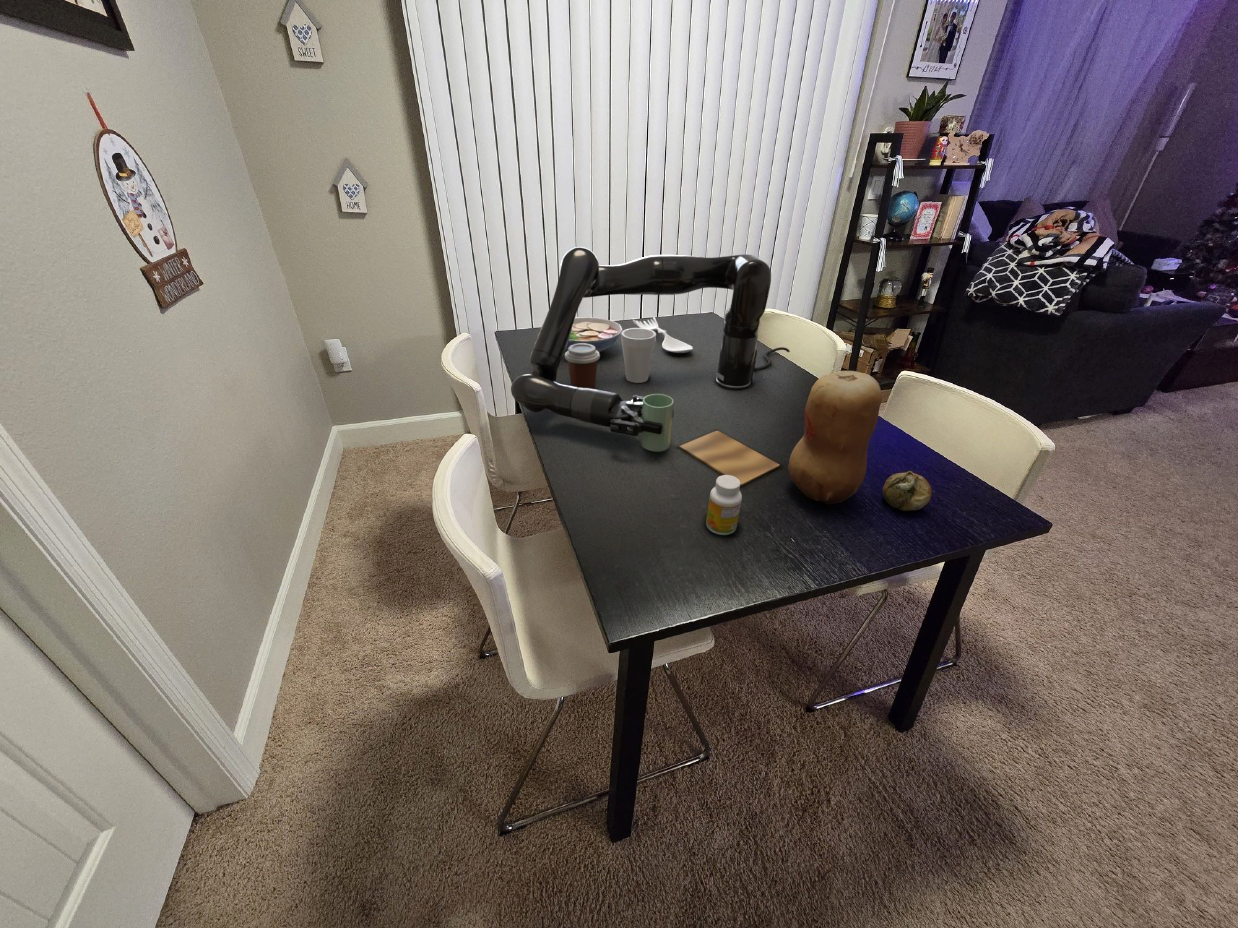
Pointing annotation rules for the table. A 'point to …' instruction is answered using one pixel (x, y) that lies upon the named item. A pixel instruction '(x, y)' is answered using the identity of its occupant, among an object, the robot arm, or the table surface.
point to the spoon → (668, 342)
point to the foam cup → (637, 353)
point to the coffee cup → (582, 365)
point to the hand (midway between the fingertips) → (667, 421)
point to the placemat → (729, 457)
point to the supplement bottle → (724, 505)
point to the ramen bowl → (594, 332)
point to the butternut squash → (836, 436)
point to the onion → (907, 491)
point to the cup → (657, 421)
